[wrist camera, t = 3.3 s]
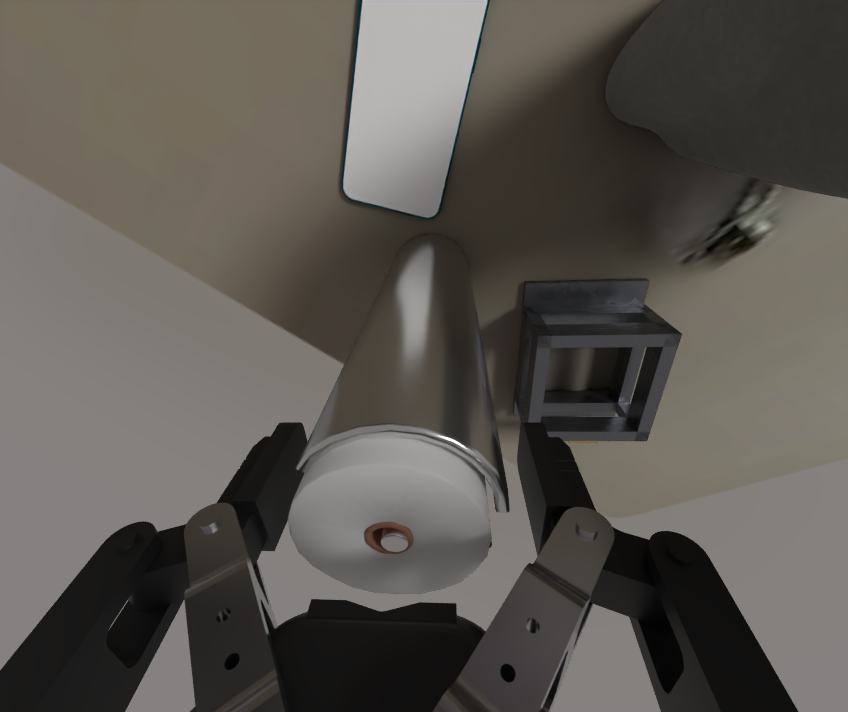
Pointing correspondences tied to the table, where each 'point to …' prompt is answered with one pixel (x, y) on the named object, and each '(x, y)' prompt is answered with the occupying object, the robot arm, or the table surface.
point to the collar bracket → (593, 328)
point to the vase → (743, 87)
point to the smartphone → (409, 100)
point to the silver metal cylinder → (406, 438)
